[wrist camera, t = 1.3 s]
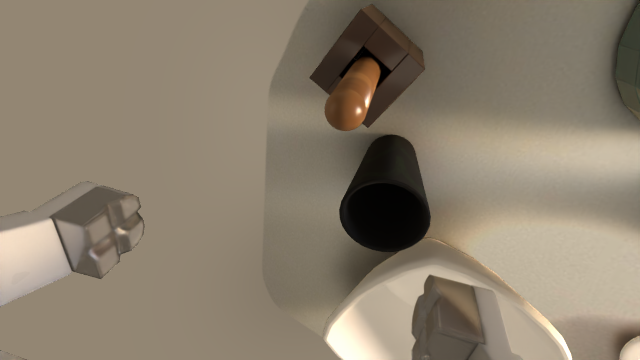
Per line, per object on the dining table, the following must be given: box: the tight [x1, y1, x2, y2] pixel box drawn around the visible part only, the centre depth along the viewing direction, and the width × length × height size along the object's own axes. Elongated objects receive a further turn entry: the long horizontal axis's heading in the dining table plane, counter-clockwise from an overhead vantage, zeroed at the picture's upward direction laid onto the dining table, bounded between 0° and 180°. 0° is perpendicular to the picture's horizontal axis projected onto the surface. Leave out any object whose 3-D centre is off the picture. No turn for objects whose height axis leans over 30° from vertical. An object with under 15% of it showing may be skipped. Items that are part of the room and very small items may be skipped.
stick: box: [325, 48, 384, 131], centre depth 26 cm, size 2×2×18 cm
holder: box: [310, 4, 425, 128], centre depth 30 cm, size 7×7×8 cm
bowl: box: [323, 238, 572, 360], centre depth 41 cm, size 22×22×12 cm
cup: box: [339, 135, 431, 252], centre depth 33 cm, size 8×8×12 cm
